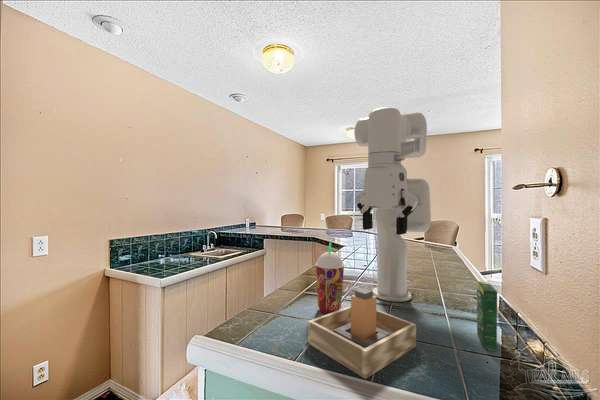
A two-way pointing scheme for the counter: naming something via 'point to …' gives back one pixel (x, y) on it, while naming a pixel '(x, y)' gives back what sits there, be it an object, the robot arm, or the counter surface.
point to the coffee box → (487, 315)
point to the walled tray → (357, 352)
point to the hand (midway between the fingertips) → (383, 231)
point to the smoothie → (329, 281)
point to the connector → (363, 314)
